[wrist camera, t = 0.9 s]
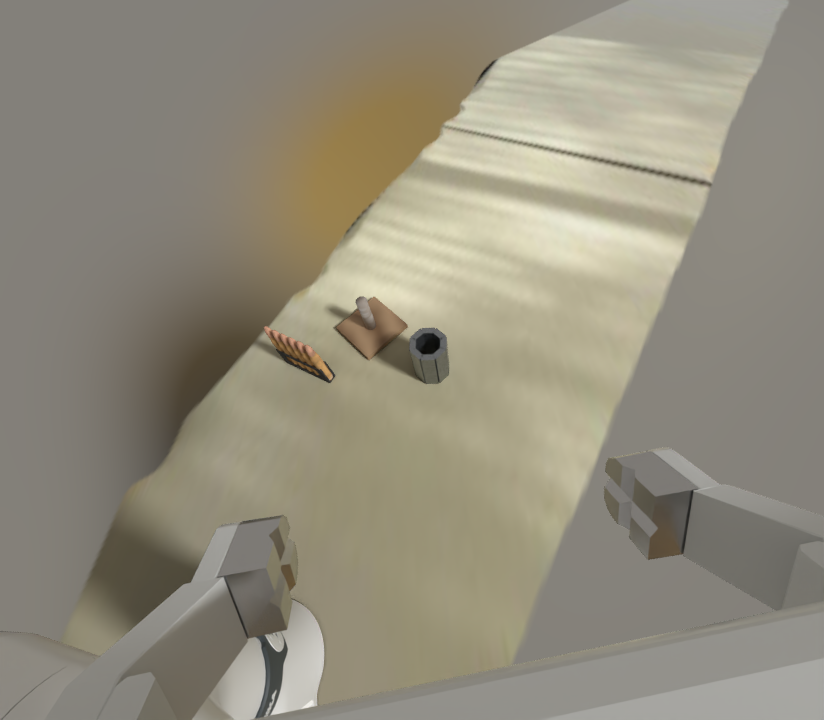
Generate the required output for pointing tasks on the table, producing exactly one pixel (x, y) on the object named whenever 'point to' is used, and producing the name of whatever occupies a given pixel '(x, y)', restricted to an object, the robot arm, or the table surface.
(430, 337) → the grey octagonal tube
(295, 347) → the ammunition clip
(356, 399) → the table surface
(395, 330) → the stand
